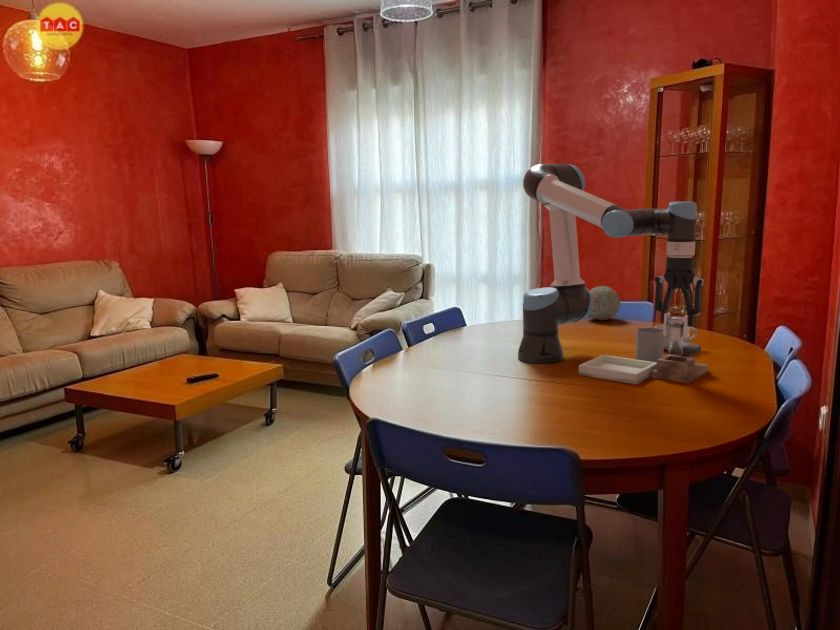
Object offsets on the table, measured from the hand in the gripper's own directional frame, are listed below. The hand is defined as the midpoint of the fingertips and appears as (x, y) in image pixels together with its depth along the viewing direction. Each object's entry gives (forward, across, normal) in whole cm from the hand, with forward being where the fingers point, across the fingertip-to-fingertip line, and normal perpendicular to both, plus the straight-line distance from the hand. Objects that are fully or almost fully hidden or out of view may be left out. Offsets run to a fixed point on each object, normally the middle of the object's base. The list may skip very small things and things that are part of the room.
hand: (676, 335), depth 185 cm
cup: (+13, -14, +15) cm, 24 cm away
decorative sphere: (+14, -58, +71) cm, 92 cm away
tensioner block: (+12, 0, +4) cm, 13 cm away
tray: (+13, -15, -6) cm, 20 cm away
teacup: (+13, -13, +35) cm, 39 cm away
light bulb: (+5, 0, 0) cm, 5 cm away
